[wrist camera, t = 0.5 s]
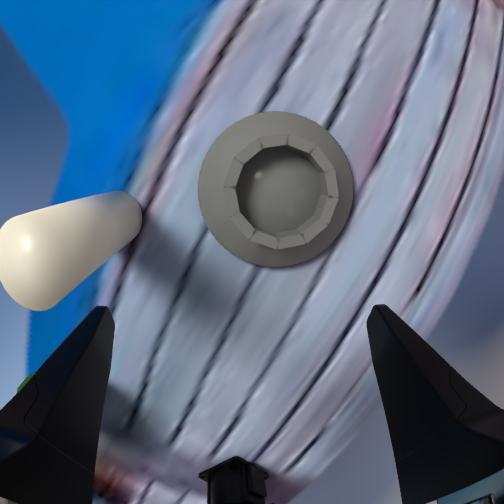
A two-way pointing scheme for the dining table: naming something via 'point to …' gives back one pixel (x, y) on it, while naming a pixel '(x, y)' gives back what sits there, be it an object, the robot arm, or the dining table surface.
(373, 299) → the dining table surface
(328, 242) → the holder
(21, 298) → the candle
